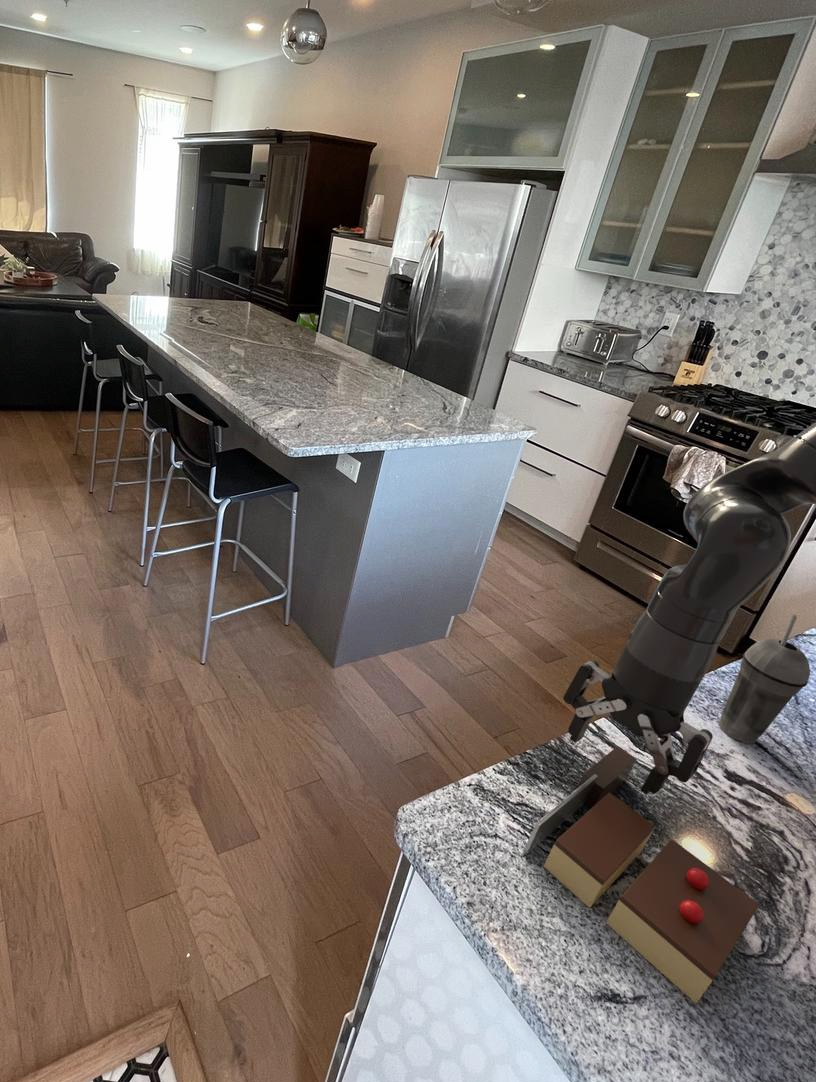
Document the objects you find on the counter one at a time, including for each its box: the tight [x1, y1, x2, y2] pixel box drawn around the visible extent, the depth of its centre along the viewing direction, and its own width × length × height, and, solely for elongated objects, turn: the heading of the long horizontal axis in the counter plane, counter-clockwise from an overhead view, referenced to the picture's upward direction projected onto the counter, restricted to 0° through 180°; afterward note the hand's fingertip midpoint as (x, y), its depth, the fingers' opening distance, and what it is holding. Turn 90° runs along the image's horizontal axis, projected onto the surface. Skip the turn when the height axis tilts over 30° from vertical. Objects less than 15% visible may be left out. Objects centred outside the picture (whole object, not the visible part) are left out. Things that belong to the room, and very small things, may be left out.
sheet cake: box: [605, 838, 760, 1004], centre depth 61 cm, size 12×8×6 cm, turn 126°
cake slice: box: [543, 792, 656, 909], centre depth 67 cm, size 12×5×4 cm, turn 126°
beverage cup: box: [718, 614, 811, 745], centre depth 87 cm, size 7×7×20 cm
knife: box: [522, 745, 638, 856], centre depth 72 cm, size 22×2×4 cm, turn 126°
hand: (609, 763), depth 76 cm, fingers open, 8 cm apart
